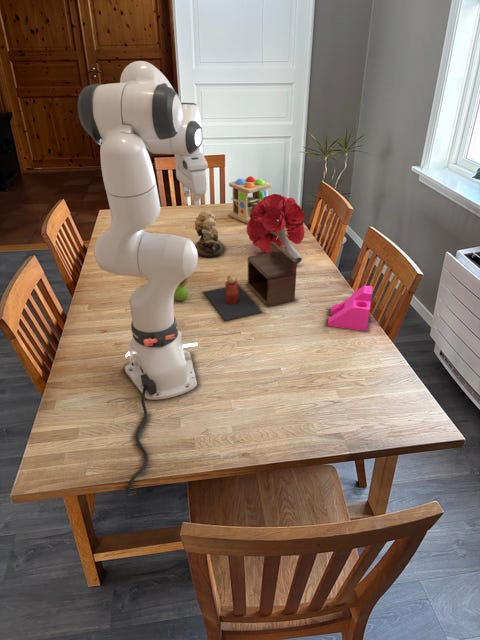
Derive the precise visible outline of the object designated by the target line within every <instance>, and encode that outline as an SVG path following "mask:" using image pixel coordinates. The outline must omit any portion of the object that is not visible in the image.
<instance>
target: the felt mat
mask: <svg viewBox="0 0 480 640" xmlns="http://www.w3.org/2000/svg"><path fill="white" fill-rule="evenodd" d="M203 294H204V295H205V297H206V298H207V299H208V300H209V302H210V303H211V305H212V306H213V307H214V308H215V310H216V311H217V312H218V313H219V315H220V317H221V318H222V319H223V320H224V322H227V321H232V320H236V319H241V318H245V317H249V316H254V315H257V314H262V313H263V311H262V310H261V309H260V308H259V306H258V305H257V304H256V303H255V302H254V301H253V300H252V299H251V298H250V297H249V295H248V294H247V293H246V292H245V291H244V290H243V289H242V288H241V287H240V286H239V285H238V302H237V303H236V304H228V303H226V287H222V288H217V289H212V290H211V289H210V290H207V291H204V292H203Z"/></svg>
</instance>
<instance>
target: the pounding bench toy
mask: <svg viewBox="0 0 480 640" xmlns="http://www.w3.org/2000/svg"><path fill="white" fill-rule="evenodd" d="M228 186H229V187H230V188H232V197H230V200H232V211H230V212H229V217H231V218H234V219H236V220H238V221H241V222H243V223H245V224H246V225H247V224H248V222H249V220H250V217H249V216H250V214H251V213H252V210H253V208H254V207H255V206H256V205H257V204H258V203H259V202H260V201H262V200H263V198H264V197H266V196H269V189H271V188H272V183H270V182H267V181H264V180H263V179H261V178H255V177H254V176H252V175H250V176H247V177H246V178H238V179H236V180H235V181H230V182H229V183H228ZM248 194H252V196H250V195H248Z"/></svg>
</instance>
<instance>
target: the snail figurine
mask: <svg viewBox="0 0 480 640" xmlns="http://www.w3.org/2000/svg"><path fill="white" fill-rule="evenodd" d="M189 280H190V276H189V277H188V278H186V279H185V280H183V281H182V282H181V283H180V284H179V285H178V287H177V288H176V290H175V293H174V300H176V301H180V302H181V301H184V300H186V299H187V298H188V297H189V289H188V287H187V286H186V285H188V283H189Z"/></svg>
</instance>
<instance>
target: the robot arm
mask: <svg viewBox="0 0 480 640" xmlns="http://www.w3.org/2000/svg"><path fill="white" fill-rule="evenodd" d="M77 114H78V119H79V122H80V123H81V126H82V127H83V129H84V130H85V131H86V133H87V134H88V135H89V136H90V137H91V138H92V140H93V142H94V143H95V144H96V145H98V146H100V149H99V153H100V158H99V159H100V169H101V175H102V180H103V184H104V189H105V192H106V197H107V201H108V207H109V211H110V212H109V213H110V224H109V227H108V228H107V230H105V231H104V232H103V233H102V234H101V235H99V236H98V238H97V239H96V242H95V245H94V249H93V254H94V259H95V262H96V264H97V266H98V267H99V268H100V270H102V271H105V272H108V273H111V274H115V275H119V276H125V277H126V276H127V277H138V278H144V279H147V283H144V284H142V285H140V286H139V287H137V288H135V290H133V291H132V293H131V295H130V297H129V307H130V308H129V309H130V314H131V315H130V316H131V323H130V326H131V327H130V330H131V334H132V338H131V340H130V341H129V343H128V345H127V347H128V352H127V353H126V354H125V358H127V357H128V356H129V357H128V358H129V363H127V364H126V366H125V367H124V371H125V374H126V375H127V376H128V377H129V379H130V380H131V381H132V382H133V384H134V385H135V386H136V388H137V389H138V390H139V392H140V393H141V398H140V399H141V406H142V411H143V414H144V415H143V419H142V422H141V423H140V424H139V426H138V429H137V430H136V433H135V442H136V444H137V446H138V447H139V449H140V450H141V451H142V453H143V455H144V462H143V465H142V466H141V467H140V468H139V469H138V470H137V471H136V472H135V473H134V474H133V475H132V477H131V478H130V480H128V481H129V482H128V483H127V487H126V489H125V494H126V495H129V494H130V492H131V487H132V485H133V483H134V481H135V480H136V478H138V476H140V475H141V473H143V472H144V471H145V469H146V468H147V466H148V463H149V454H148V451H147V450H146V448H145V446H144V445H143V444H142V443H141V440H140V433H141V431H142V429H143V428H144V426H145V425H146V422H147V420H148V410H147V406H146V403H145V402H146V401H145V399H147V400H152V401H154V400H156V401H157V400H165V399H170V398H175V397H177V396H181V395H184V394H187V393H189V392H190V391H192V390H194V389H195V388H196V387H197V385H198V383H197V377H196V373H195V369H194V365H193V360H192V354H191V351H188V350H187V349H184V348H189V347H198V342H193V343H186V340H182V332H181V331H180V330H179V329H178V322H177V319H176V317H175V311H174V307H175V306H174V304H175V303H174V300H175V298H174V293H175V290H176V288H177V287H178V285H179V284H180V283H181V282H182V281H183V280H185V279H186V278H188V277H189V278H190V277H191V276H192V274H193V273H194V272H195V270H196V269H197V266H198V262H199V254H198V253H197V249H196V247H195V246H196V244H195V243H194V242H193V241H192V240H191V239H190V238H187V237H183V236H180V235H176V234H172V233H171V234H170V233H159V232H147V231H145V229H147V228H149V227H150V226H151V225H153V224H154V223H155V222H156V221H157V220H158V218H159V216H160V214H161V202H160V197H159V192H158V191H159V190H158V186H157V180H156V174H155V171H154V167H153V163H152V159H151V156H150V155H174V164H175V177H176V179H177V181H179V182H180V183H181V188H182V191H183V196H184V197H185V198H189V197H190V196H191V193H192V196H193V199H192V205H193V206H194V207H198V206H200V200H201V196H205V195H206V193H207V188H208V187H207V185H208V183H207V177H208V176H207V170H208V167H209V165H208V161H207V159H206V157H205V154H204V149H203V148H204V147H203V126H202V118H201V116H202V115H201V111H200V107H199V105H198V104H197V103H195V102H181V98H180V96H179V94H178V92H176V91H175V89H174V87H173V85H172V84H171V83H170V81H169V80H168V78H167V77H166V76H165V75H164V74H163V72H162V71H160V69H159V68H158V67H156V66H154V65H153V64H152V63H150V62H149V61H148V62H147V61H145V60H135V61H132V62H131V63H129V64H128V65H127V66H125V68H124V69H123V71H122V72H121V75H120V77H119V82H113V83H105V84H102V83H93V84H90V85H87V86H85V87H83V88H82V90H81V92H80V93H79V95H78V99H77Z"/></svg>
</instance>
